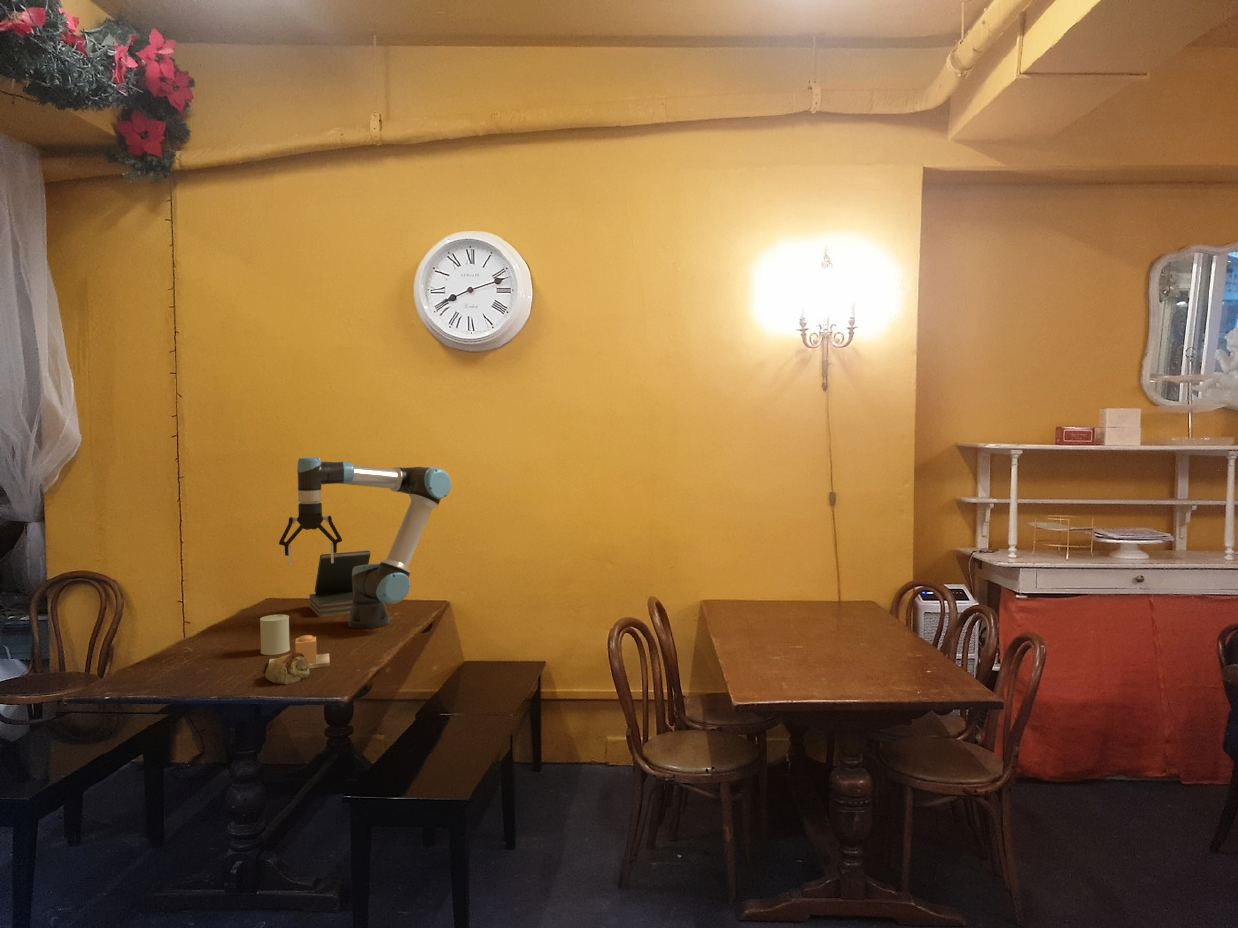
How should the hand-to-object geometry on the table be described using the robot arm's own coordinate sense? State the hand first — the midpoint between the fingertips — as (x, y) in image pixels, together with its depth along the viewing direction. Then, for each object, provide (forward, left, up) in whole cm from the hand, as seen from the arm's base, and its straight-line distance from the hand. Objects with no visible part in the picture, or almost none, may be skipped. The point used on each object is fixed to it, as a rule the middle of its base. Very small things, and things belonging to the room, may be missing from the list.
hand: (311, 563), depth 275 cm
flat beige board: (+4, +22, -29) cm, 36 cm away
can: (+12, +2, -29) cm, 31 cm away
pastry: (+7, +34, -29) cm, 46 cm away
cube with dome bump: (+2, +23, -28) cm, 36 cm away
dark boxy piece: (-11, -55, -29) cm, 63 cm away
